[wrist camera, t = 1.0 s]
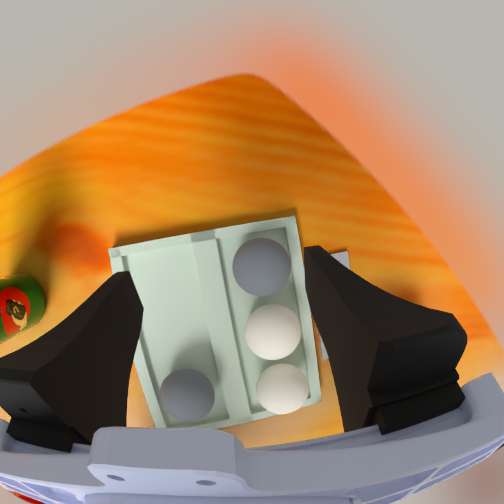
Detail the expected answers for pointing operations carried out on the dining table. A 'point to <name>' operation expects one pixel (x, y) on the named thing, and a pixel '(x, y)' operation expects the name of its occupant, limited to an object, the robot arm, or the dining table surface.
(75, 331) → the robot arm
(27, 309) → the soda can
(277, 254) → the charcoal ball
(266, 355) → the cream ball middle
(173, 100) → the dining table surface
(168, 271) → the rack
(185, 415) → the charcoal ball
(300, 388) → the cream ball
